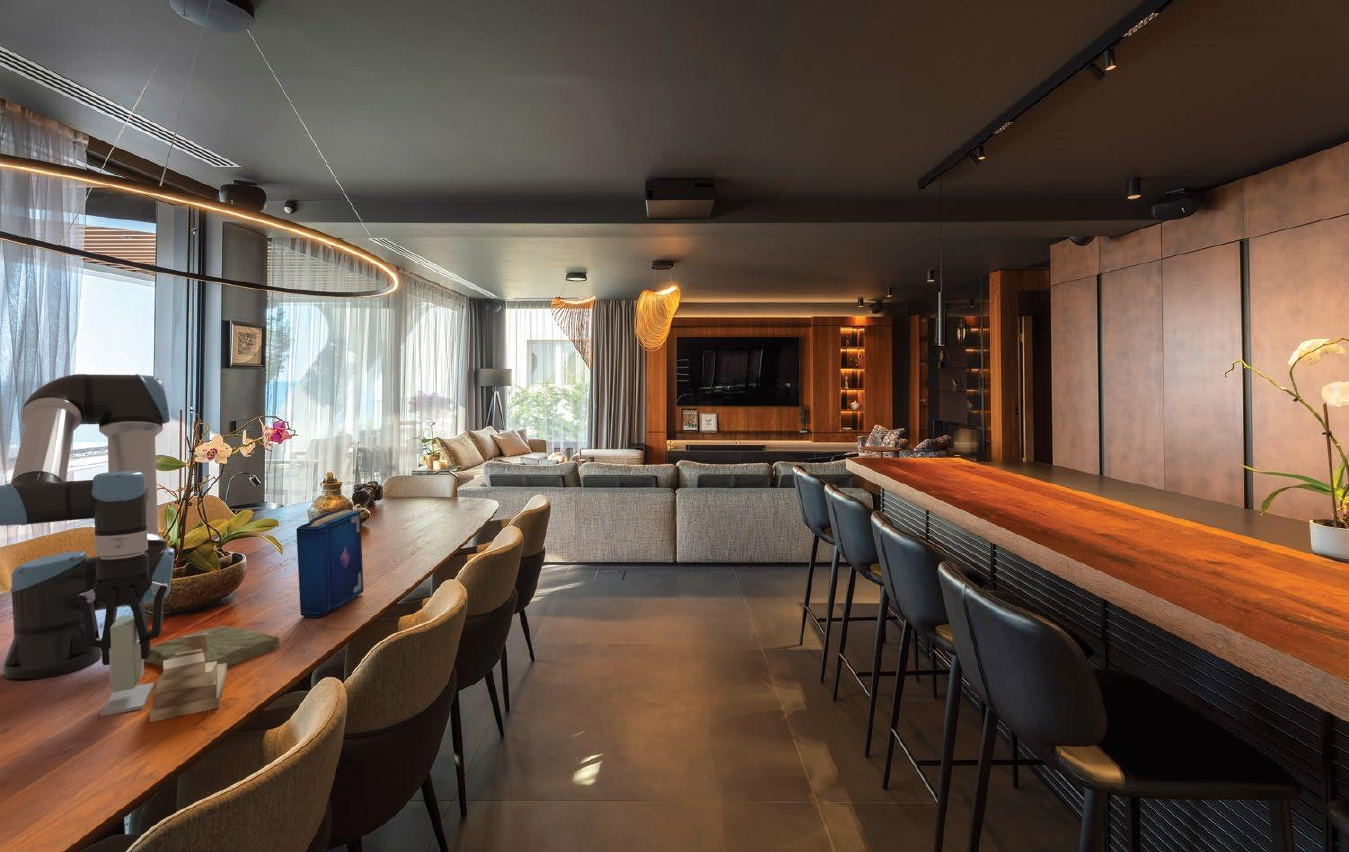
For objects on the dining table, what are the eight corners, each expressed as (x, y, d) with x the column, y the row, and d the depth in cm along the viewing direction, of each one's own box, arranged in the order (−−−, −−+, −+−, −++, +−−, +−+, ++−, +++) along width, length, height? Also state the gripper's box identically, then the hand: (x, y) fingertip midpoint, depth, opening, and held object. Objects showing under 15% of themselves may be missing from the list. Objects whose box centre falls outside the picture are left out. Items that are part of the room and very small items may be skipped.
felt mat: (100, 716, 117) (100, 713, 117) (114, 692, 126) (114, 689, 126) (143, 708, 120) (143, 705, 120) (153, 685, 129) (153, 682, 129)
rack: (149, 722, 115) (147, 671, 114) (166, 683, 130) (164, 638, 130) (218, 708, 120) (217, 660, 119) (227, 672, 135) (225, 629, 135)
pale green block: (113, 692, 119) (110, 627, 118) (121, 678, 125) (118, 616, 124) (134, 688, 120) (131, 624, 120) (141, 674, 126) (139, 613, 126)
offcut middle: (157, 693, 116) (157, 679, 116) (165, 682, 120) (165, 668, 120) (212, 684, 119) (211, 671, 119) (217, 674, 124) (217, 661, 124)
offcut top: (163, 680, 115) (163, 669, 115) (163, 671, 119) (163, 660, 119) (205, 671, 119) (205, 660, 119) (203, 662, 123) (203, 652, 123)
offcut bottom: (153, 710, 115) (153, 696, 115) (157, 697, 120) (157, 684, 120) (216, 697, 120) (215, 684, 120) (217, 685, 125) (216, 672, 125)
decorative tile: (222, 636, 157) (222, 621, 157) (281, 648, 149) (280, 633, 149) (134, 666, 140) (133, 650, 139) (195, 681, 132) (194, 664, 132)
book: (322, 620, 167) (319, 523, 165) (295, 620, 167) (292, 523, 165) (364, 594, 188) (362, 508, 187) (340, 594, 188) (338, 508, 187)
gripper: (58, 564, 114) (64, 695, 115) (173, 553, 122) (177, 675, 123) (70, 555, 121) (76, 680, 122) (179, 545, 129) (183, 662, 130)
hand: (127, 677), depth 123 cm, fingers closed on pale green block, 3 cm apart
